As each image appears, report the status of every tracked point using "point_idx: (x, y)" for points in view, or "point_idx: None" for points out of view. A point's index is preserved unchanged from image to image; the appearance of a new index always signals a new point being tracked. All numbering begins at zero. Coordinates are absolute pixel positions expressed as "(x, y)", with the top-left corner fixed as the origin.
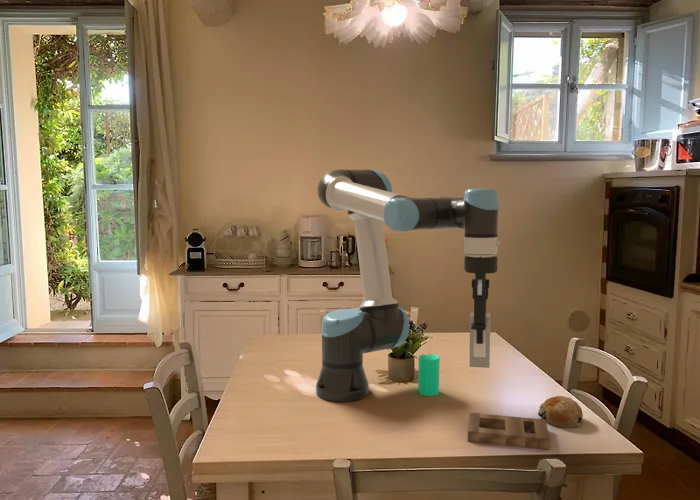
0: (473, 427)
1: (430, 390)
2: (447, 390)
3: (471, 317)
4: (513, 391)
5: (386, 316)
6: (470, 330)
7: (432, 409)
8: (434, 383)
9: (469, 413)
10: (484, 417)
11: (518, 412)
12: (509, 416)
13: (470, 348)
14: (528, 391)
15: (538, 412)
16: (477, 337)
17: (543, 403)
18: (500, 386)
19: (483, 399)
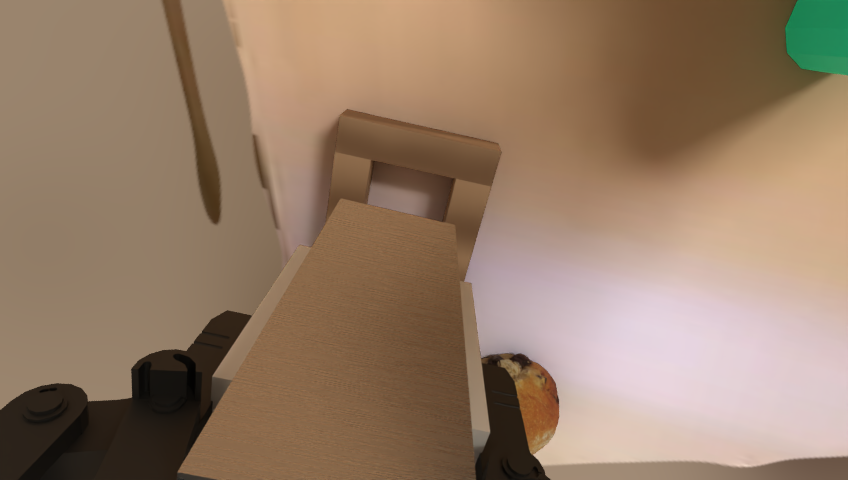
0: (369, 140)
1: (803, 25)
2: (827, 113)
3: (187, 470)
4: (742, 340)
5: None
6: (258, 338)
7: (631, 16)
8: (826, 47)
9: (492, 150)
10: (455, 195)
11: (564, 309)
12: (463, 274)
13: (310, 252)
14: (729, 380)
15: (525, 358)
16: (193, 349)
17: (523, 389)
18: (802, 314)
19: (693, 232)
